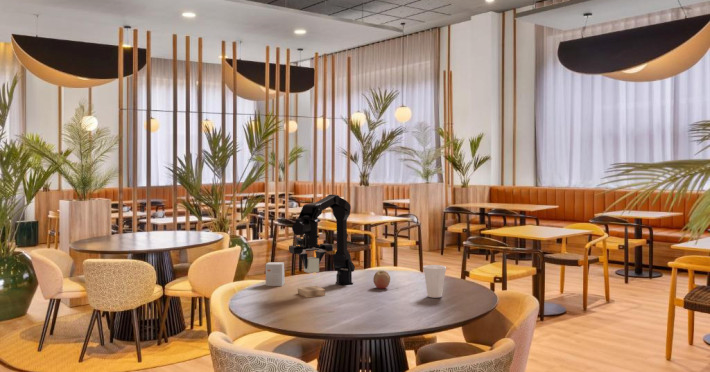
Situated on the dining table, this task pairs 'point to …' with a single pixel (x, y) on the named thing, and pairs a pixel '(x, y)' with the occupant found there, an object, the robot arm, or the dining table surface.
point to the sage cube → (312, 265)
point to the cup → (434, 279)
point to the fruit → (381, 279)
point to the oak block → (311, 291)
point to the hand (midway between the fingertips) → (311, 268)
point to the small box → (275, 274)
